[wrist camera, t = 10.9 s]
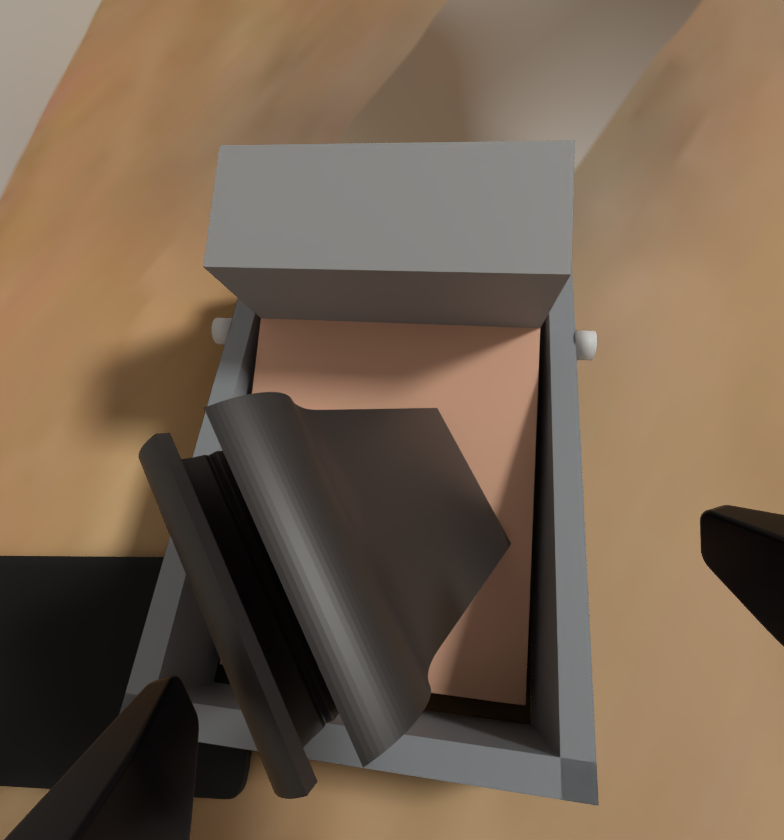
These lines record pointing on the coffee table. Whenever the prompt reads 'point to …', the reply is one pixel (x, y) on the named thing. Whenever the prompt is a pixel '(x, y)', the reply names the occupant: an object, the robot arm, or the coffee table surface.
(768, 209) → the coffee table surface
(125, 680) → the cell phone
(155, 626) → the flap frame
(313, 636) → the phone stand
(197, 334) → the coffee table surface
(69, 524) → the coffee table surface
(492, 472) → the flap
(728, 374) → the coffee table surface
